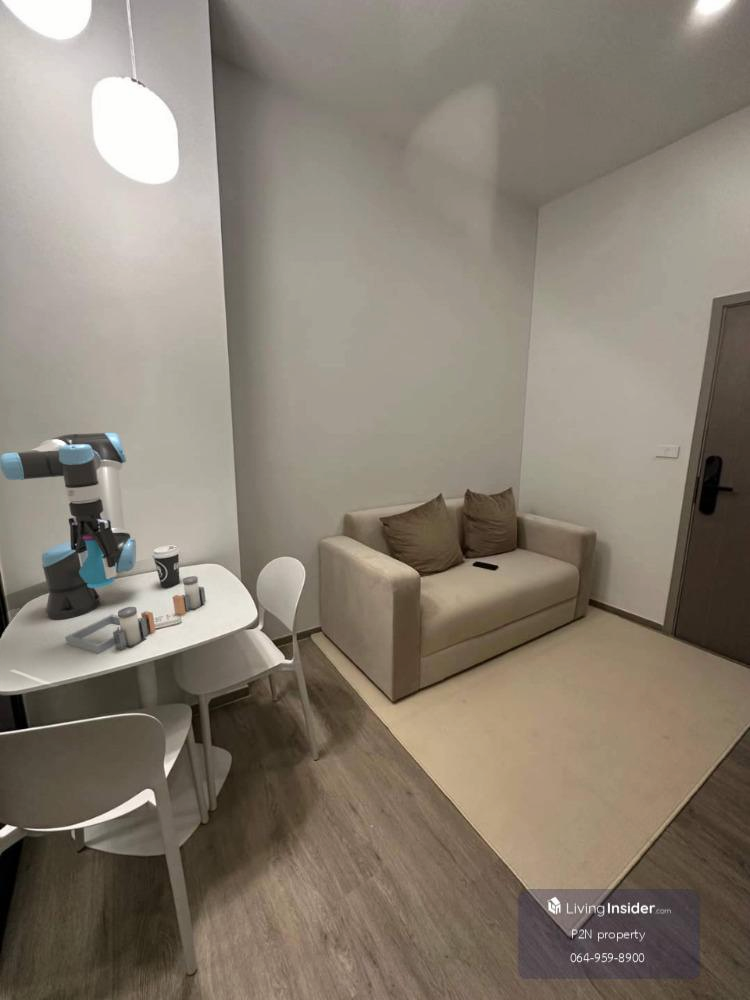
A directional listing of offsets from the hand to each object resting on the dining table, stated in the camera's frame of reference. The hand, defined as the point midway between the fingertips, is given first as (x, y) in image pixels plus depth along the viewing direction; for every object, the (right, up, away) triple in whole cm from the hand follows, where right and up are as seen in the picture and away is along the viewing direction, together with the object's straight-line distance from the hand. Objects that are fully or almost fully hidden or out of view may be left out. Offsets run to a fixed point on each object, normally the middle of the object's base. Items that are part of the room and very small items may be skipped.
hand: (99, 574), depth 116 cm
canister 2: (+18, -15, +21) cm, 31 cm away
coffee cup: (0, -12, +40) cm, 42 cm away
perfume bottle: (0, -3, +1) cm, 3 cm away
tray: (0, -20, +4) cm, 20 cm away
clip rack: (+14, -18, +11) cm, 25 cm away
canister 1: (+10, -20, 0) cm, 22 cm away
